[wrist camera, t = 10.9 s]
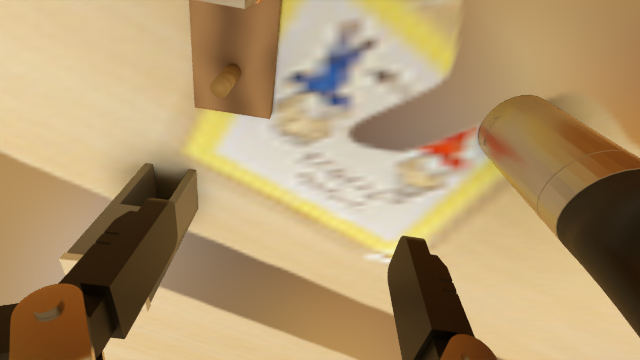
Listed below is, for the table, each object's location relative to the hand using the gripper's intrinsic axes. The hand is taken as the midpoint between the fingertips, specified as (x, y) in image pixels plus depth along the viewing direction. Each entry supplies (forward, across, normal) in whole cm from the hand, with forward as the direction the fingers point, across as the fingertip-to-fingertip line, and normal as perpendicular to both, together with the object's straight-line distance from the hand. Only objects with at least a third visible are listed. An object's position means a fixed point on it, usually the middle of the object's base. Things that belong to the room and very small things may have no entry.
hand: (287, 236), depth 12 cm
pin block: (+30, +9, -2) cm, 32 cm away
